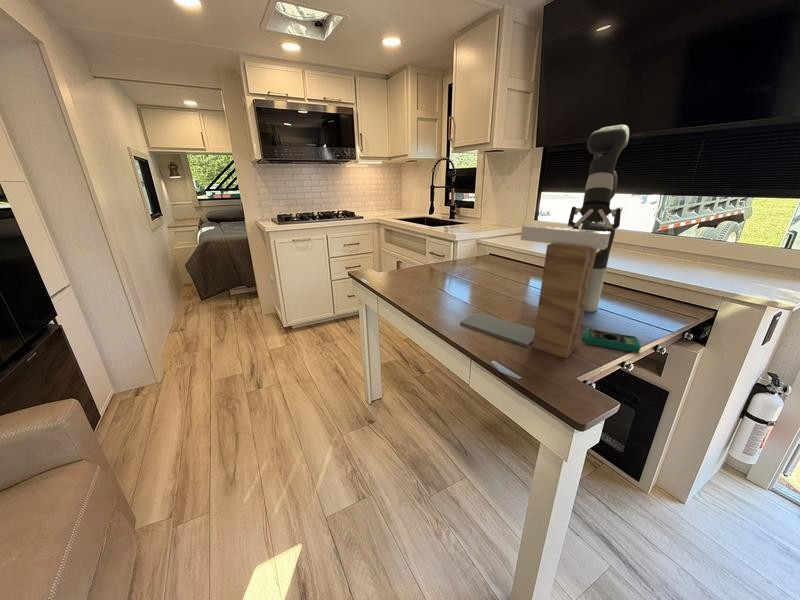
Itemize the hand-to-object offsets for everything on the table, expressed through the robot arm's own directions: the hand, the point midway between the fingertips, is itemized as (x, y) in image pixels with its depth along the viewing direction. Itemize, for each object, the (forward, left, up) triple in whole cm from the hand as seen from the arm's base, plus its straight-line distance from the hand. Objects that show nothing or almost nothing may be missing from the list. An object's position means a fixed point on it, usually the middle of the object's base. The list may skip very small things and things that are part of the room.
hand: (590, 240), depth 104 cm
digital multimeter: (+6, +13, -31) cm, 34 cm away
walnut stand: (+20, +1, -30) cm, 36 cm away
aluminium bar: (+20, -2, +2) cm, 20 cm away
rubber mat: (+20, -18, -30) cm, 40 cm away
